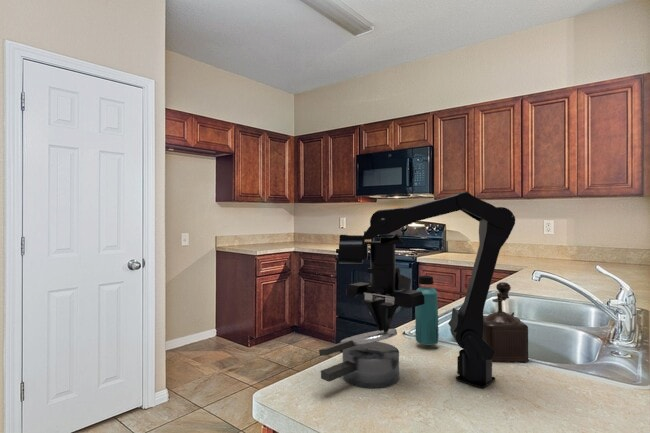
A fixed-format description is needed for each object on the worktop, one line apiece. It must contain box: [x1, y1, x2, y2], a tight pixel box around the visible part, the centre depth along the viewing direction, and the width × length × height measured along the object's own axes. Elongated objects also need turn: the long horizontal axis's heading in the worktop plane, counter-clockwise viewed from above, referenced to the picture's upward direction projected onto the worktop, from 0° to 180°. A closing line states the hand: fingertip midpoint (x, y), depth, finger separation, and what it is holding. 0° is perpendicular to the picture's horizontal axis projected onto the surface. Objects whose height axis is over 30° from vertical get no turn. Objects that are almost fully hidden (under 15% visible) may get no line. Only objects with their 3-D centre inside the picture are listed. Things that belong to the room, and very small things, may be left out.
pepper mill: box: [483, 281, 530, 364], centre depth 106 cm, size 16×11×18 cm
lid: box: [318, 328, 398, 356], centre depth 88 cm, size 13×21×1 cm, turn 133°
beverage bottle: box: [414, 275, 440, 346], centre depth 111 cm, size 6×7×20 cm
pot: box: [320, 341, 400, 389], centre depth 88 cm, size 14×21×6 cm, turn 133°
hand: (383, 331), depth 90 cm, fingers closed
